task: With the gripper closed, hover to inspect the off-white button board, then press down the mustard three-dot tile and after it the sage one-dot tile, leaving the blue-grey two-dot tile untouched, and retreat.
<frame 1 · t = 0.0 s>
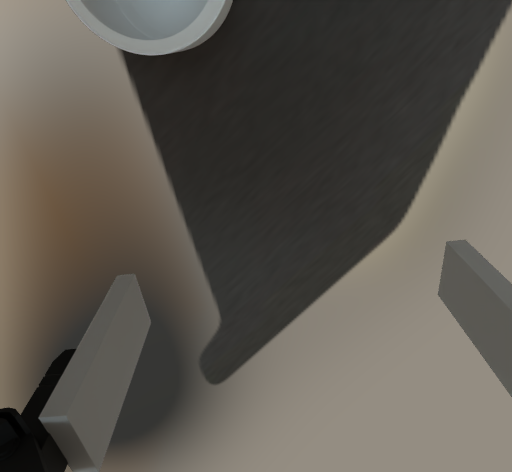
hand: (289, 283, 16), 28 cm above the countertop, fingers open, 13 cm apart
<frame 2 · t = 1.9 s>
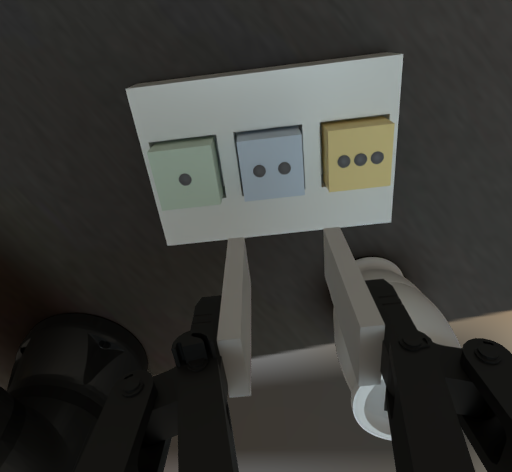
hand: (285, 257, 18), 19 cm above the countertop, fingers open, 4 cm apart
tile one: (188, 173, 31), point 4 cm above the countertop, slide at 0.0 cm
jar: (365, 285, 42), on the countertop
button board: (268, 150, 34), on the countertop
tile three: (355, 154, 30), point 4 cm above the countertop, slide at 0.0 cm
tile two: (271, 163, 30), point 4 cm above the countertop, slide at 0.0 cm
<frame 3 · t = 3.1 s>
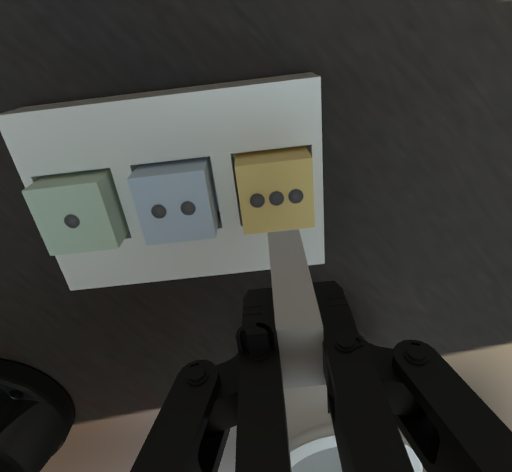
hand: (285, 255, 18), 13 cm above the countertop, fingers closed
tile one: (80, 212, 26), point 4 cm above the countertop, slide at 0.0 cm
jar: (309, 326, 38), on the countertop
button board: (185, 181, 29), on the countertop
tile three: (274, 190, 26), point 4 cm above the countertop, slide at 0.0 cm
tile two: (177, 201, 26), point 4 cm above the countertop, slide at 0.0 cm
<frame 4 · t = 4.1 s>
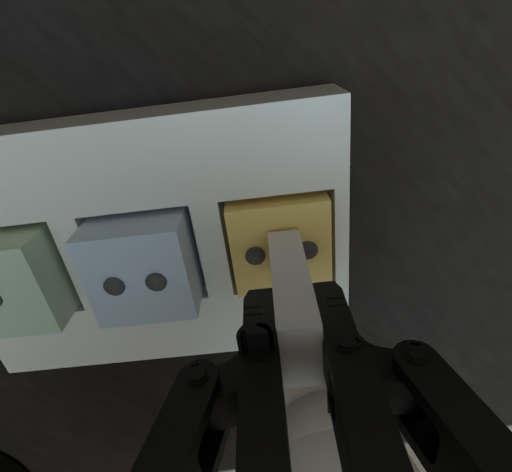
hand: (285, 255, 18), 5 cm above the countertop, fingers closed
tile one: (9, 281, 19), point 4 cm above the countertop, slide at 0.0 cm
jar: (324, 397, 30), on the countertop
button board: (160, 229, 22), on the countertop
tile three: (279, 238, 19), point 3 cm above the countertop, slide at 1.4 cm
tile two: (143, 266, 18), point 4 cm above the countertop, slide at 0.0 cm
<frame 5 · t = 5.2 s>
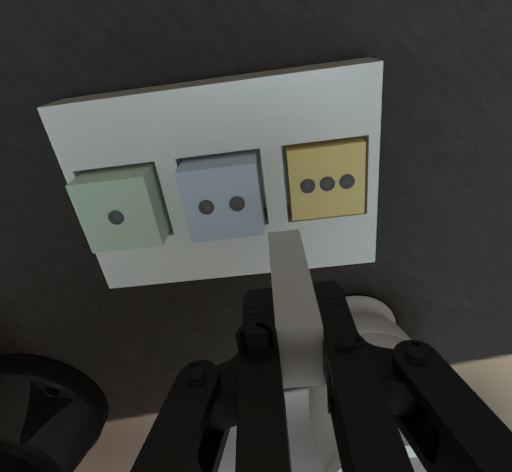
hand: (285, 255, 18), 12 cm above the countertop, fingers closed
tile one: (123, 207, 25), point 4 cm above the countertop, slide at 0.0 cm
jar: (350, 326, 36), on the countertop
button board: (227, 175, 28), on the countertop
tile three: (323, 176, 26), point 2 cm above the countertop, slide at 1.6 cm
tile two: (223, 196, 25), point 4 cm above the countertop, slide at 0.0 cm
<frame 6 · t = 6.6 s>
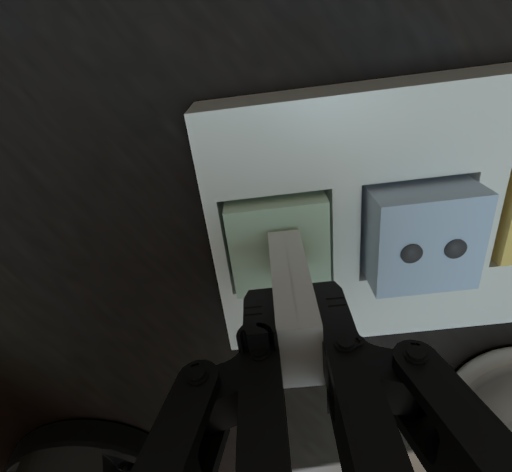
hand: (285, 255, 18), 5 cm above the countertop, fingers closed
tile one: (277, 239, 19), point 3 cm above the countertop, slide at 1.2 cm, touching gripper
jar: (494, 380, 30), on the countertop
button board: (391, 203, 22), on the countertop
tile two: (419, 235, 18), point 4 cm above the countertop, slide at 0.0 cm
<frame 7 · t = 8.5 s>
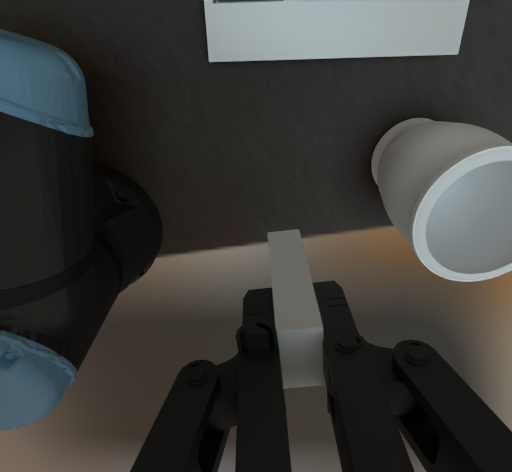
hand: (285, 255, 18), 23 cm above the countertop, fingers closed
jar: (409, 158, 39), on the countertop
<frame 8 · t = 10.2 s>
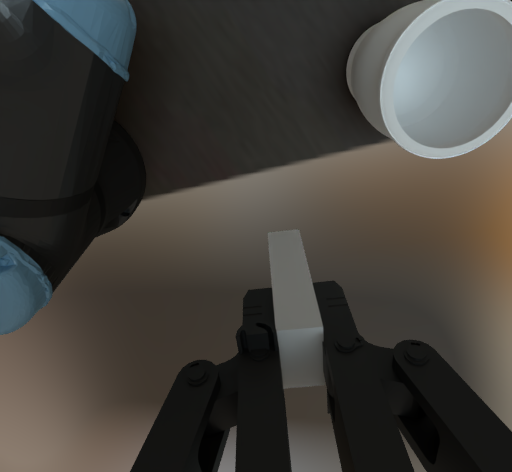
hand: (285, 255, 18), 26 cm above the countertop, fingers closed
jar: (384, 67, 38), on the countertop
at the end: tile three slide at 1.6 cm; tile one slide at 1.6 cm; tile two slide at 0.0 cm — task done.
